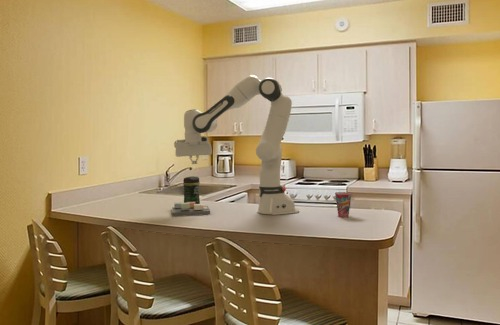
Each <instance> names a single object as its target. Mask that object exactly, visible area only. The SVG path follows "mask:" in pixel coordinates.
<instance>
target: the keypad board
mask: <svg viewBox="0 0 500 325" xmlns="http://www.w3.org/2000/svg"><path fill="white" fill-rule="evenodd" d="M171 212H172V213H171V214H172V217H188V216H189V217H190V216H208V215H211V210H210V208H209V206H208V205H203V210H194V207H192V208H188V209H181V208H175V207H173V206H172V209H171Z"/></svg>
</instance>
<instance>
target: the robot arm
mask: <svg viewBox="0 0 500 325" xmlns="http://www.w3.org/2000/svg"><path fill="white" fill-rule="evenodd" d="M282 90H283V89H282V85H281V84H280V82H279V81H278V80H277V79H276V78H273V77H265V78H263V79H262V80H260V79H259V78H258V76H256V75H254V74H249V75H248V76H246V77H245V78H243V79H241V81H239V82H238V83H237V84H235V85H234V86H233V87H232V88H231V89H230V90H228V92H227V93H226V94H225V95H224V96H223V97H222V98H221V99H219V101H217V102H216V103H214V105H212V106H211V107H210V108H208V109H206V111H204V112H202V111H200V110H198V109H197V108H194V109H193V108H192V109H189V110H187V111H185V112H184V114H183V128H184V139H177V140H175V141H174V143H173V146H174V148H175V156H176V157H178V158H180V157H188V158H189V160H190V161H191V165H198V161H199V158H200V156H209V155H210V156H211V155H212V154H213V150H212V148H213V147H212V145H211V143H210V142H209V141H210V138H209V137H207V136H203V135H201V134H204V133H211V132H213V131H215V130H216V129H217V126H218V122H217V119H218V118H219V117H220V116H222V115H223V114H224V113H226V112H228V111H230V110H233V109H237V108H241V107H243V106H244V105H246V104H247V103H249V102H250V101H251V100H252V99H253V98H254V97H256V96H257V95H260V96H262V97H263V98H264V99H266V100H268V101H269V102H270V109H269V113H268V115H267V119H266V122H265V127H264V129H263V132H262V134H261V137H260V139H259V142H258V143H257V146H256V149H255V154H256V156H257V158H258V159H260V160H261V163H260V169H259V188H258V196H259V200H258V201H259V202H258V207H257V213H258V214H262V215H264V214H265V215H271V216H272V215H273V216H276V215H287V214H298V213H300V210H299V209H298V208H297V207H296V206H295V201H294V200H293V199H292V198H291V197H290V196H289V195H287V193H285V192H286V191H287V188H286V186H285V187H284V186H282V185H281V165H282V154H283V148H282V145H281V143H282V140H283V138H284V136H285V134H286V131H287V127H288V124H289V120H290V118H291V117H290V116H291V111H292V105H293V104H292V103H293V102H292V99H291V98H290V97H289V96H287V95H286V94H284V93H282ZM193 156H195V158H196V159H195V160H193Z"/></svg>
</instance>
